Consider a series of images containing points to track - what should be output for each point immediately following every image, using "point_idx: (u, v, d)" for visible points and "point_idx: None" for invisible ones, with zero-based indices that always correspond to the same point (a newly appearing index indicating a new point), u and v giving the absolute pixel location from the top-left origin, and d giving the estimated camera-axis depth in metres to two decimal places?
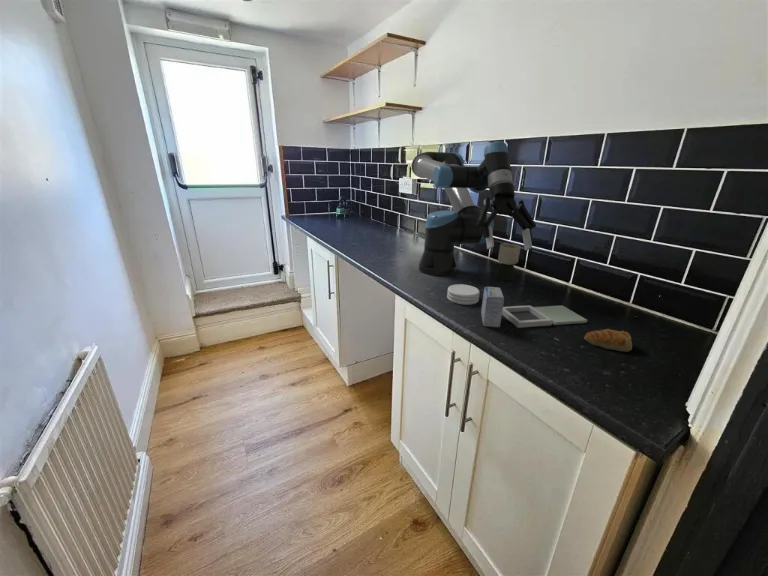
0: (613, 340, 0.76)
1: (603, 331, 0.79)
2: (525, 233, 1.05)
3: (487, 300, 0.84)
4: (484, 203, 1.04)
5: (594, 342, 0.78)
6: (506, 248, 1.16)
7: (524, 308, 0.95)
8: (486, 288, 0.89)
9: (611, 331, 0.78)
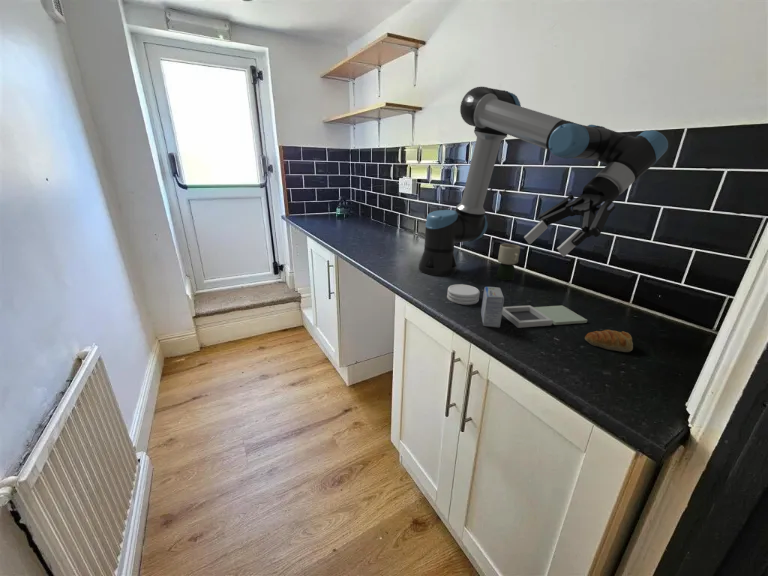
0: (614, 340, 0.76)
1: (604, 332, 0.79)
2: (542, 228, 0.89)
3: (487, 300, 0.84)
4: (609, 207, 0.76)
5: (595, 343, 0.77)
6: (506, 248, 1.16)
7: (524, 308, 0.95)
8: (486, 288, 0.89)
9: (612, 331, 0.78)
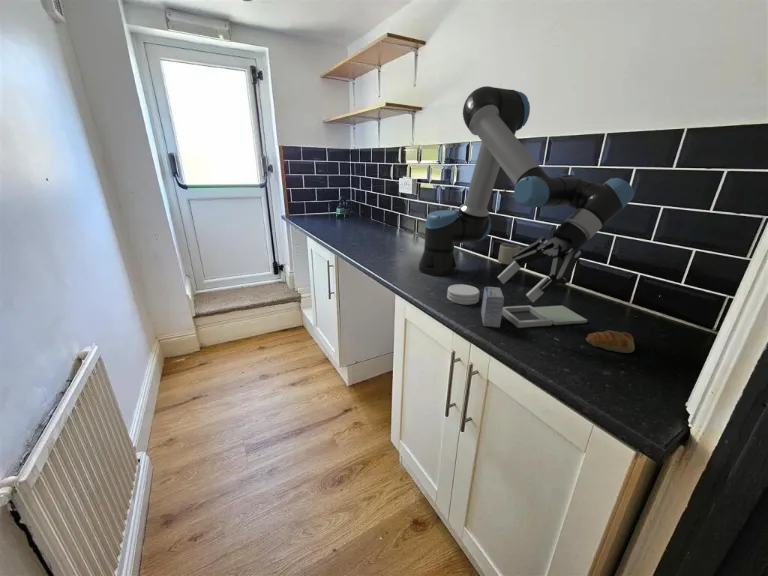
0: (616, 341, 0.75)
1: (605, 332, 0.78)
2: (515, 268, 0.91)
3: (487, 300, 0.84)
4: (576, 255, 0.78)
5: (597, 344, 0.77)
6: (506, 248, 1.16)
7: (524, 308, 0.95)
8: (486, 288, 0.89)
9: (613, 332, 0.78)
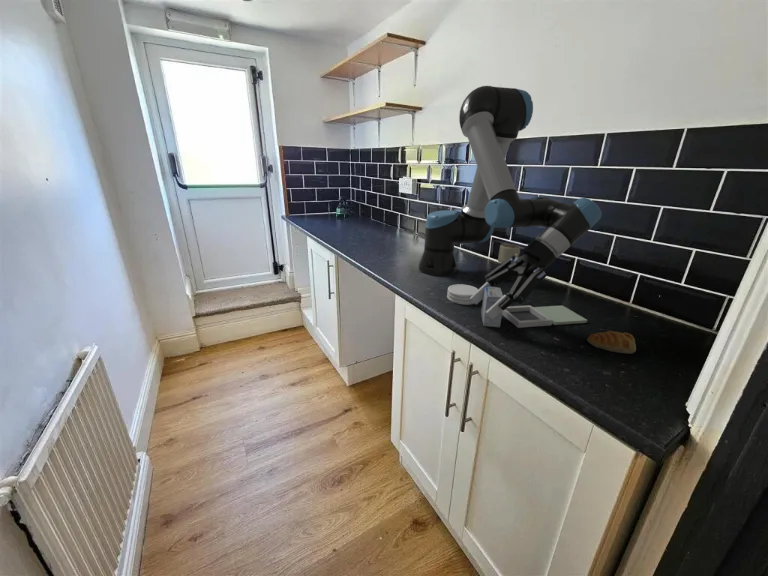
0: (617, 342, 0.75)
1: (606, 333, 0.78)
2: None
3: (487, 300, 0.84)
4: (539, 276, 0.80)
5: (598, 345, 0.77)
6: (506, 248, 1.16)
7: (524, 308, 0.95)
8: (486, 288, 0.89)
9: (614, 333, 0.77)
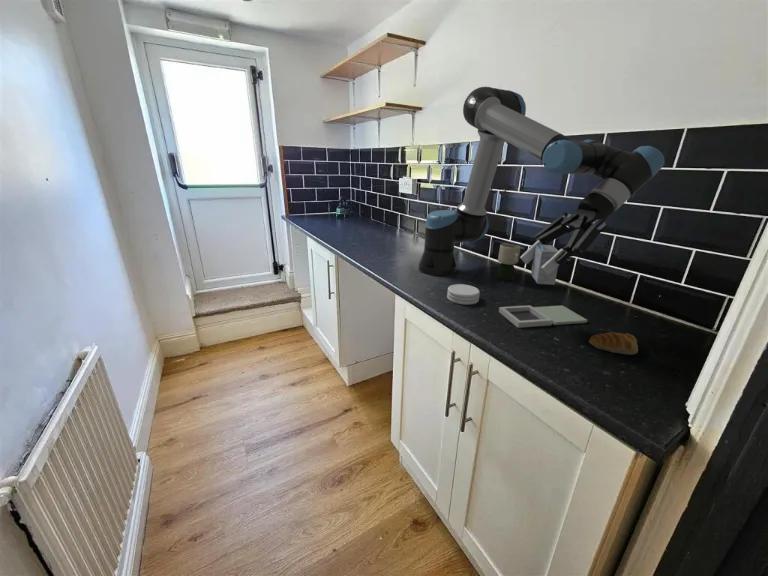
0: (619, 343, 0.74)
1: (608, 334, 0.77)
2: None
3: (542, 255, 0.81)
4: (599, 227, 0.76)
5: (600, 346, 0.76)
6: (506, 248, 1.16)
7: (524, 308, 0.95)
8: (538, 246, 0.86)
9: (616, 334, 0.77)
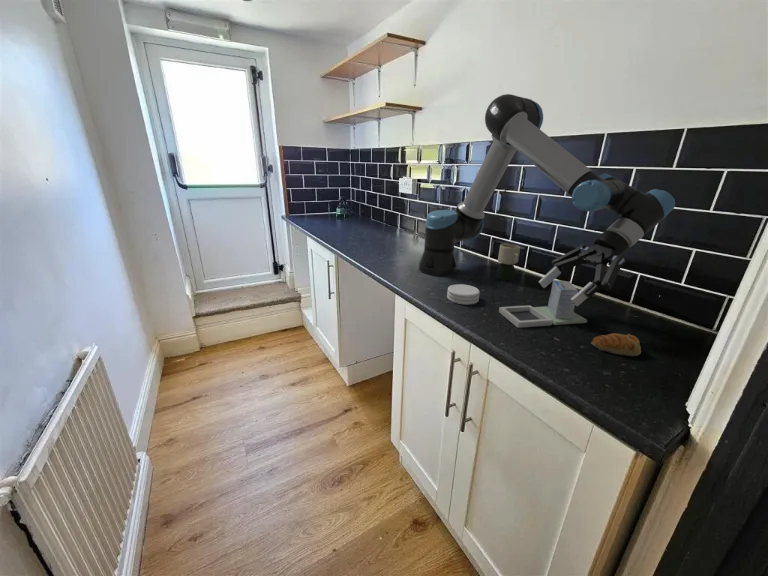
0: (622, 345, 0.74)
1: (611, 336, 0.77)
2: (556, 273, 0.96)
3: (561, 293, 0.87)
4: (620, 262, 0.82)
5: (603, 348, 0.75)
6: (506, 248, 1.16)
7: (524, 308, 0.95)
8: (556, 282, 0.93)
9: (619, 335, 0.76)
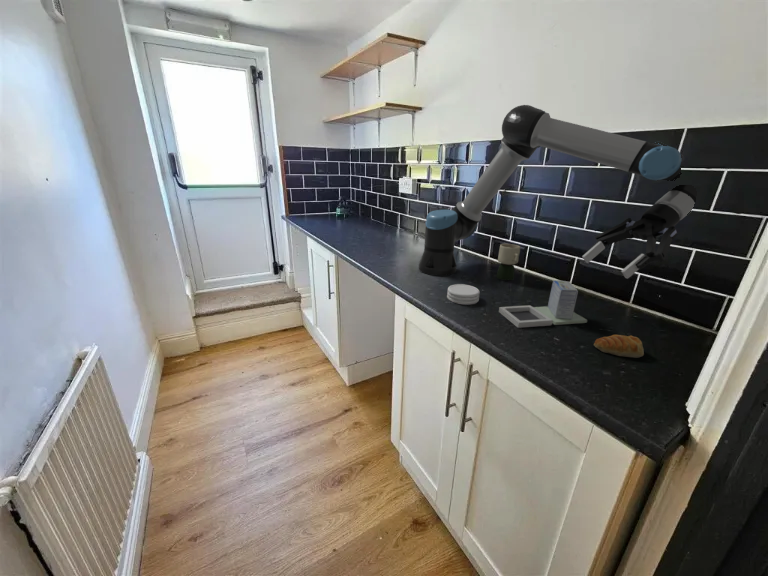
0: (625, 346, 0.73)
1: (613, 337, 0.76)
2: (600, 248, 0.95)
3: (561, 293, 0.87)
4: (672, 234, 0.82)
5: (606, 350, 0.75)
6: (506, 248, 1.16)
7: (524, 308, 0.95)
8: (556, 282, 0.93)
9: (621, 337, 0.76)
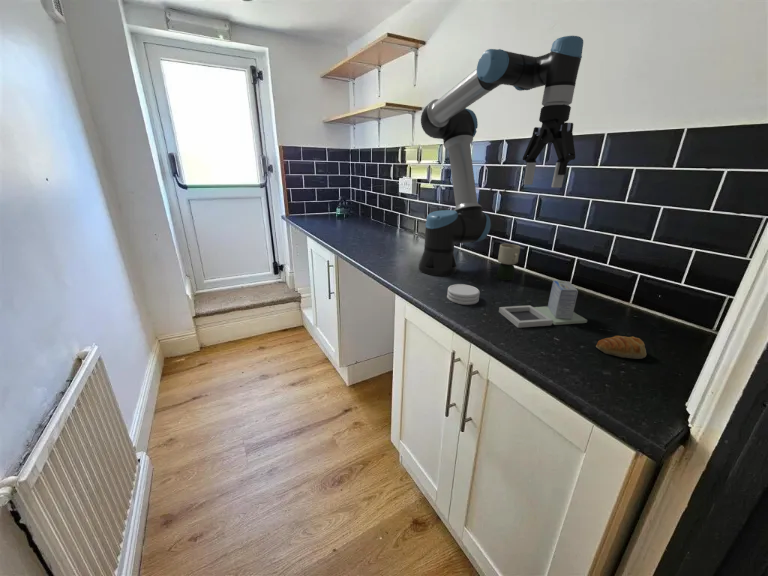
0: (628, 348, 0.73)
1: (615, 338, 0.76)
2: (532, 167, 1.02)
3: (561, 293, 0.87)
4: (568, 128, 0.86)
5: (609, 351, 0.74)
6: (506, 248, 1.16)
7: (524, 308, 0.95)
8: (556, 282, 0.93)
9: (623, 338, 0.75)
